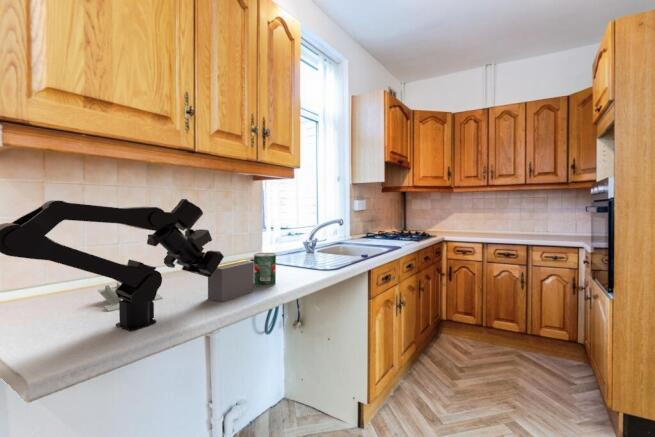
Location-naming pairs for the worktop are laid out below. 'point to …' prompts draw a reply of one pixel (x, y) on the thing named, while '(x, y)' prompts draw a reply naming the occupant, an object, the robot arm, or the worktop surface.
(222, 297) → the grey rectangular box
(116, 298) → the metal bracket
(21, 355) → the worktop surface
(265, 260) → the canned tomato
